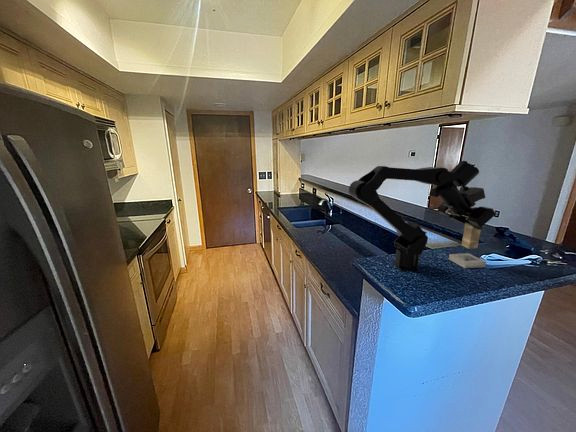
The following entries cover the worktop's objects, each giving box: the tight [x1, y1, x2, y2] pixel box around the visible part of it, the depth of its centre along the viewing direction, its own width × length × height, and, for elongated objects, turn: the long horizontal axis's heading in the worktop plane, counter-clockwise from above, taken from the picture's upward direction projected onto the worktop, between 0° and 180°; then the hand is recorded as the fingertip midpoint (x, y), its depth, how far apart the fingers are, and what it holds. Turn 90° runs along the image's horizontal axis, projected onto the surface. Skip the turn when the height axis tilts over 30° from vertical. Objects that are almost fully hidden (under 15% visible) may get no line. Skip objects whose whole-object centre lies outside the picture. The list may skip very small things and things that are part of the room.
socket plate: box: [448, 252, 487, 269], centre depth 86 cm, size 8×8×2 cm
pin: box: [461, 206, 482, 250], centre depth 84 cm, size 3×3×14 cm
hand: (476, 227), depth 84 cm, fingers closed on pin, 3 cm apart
